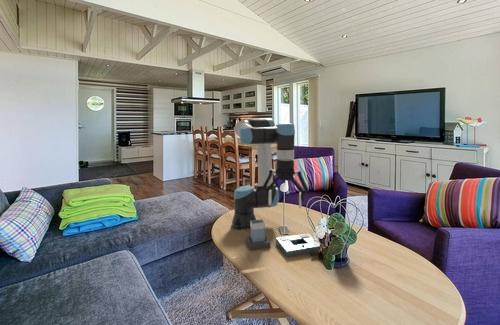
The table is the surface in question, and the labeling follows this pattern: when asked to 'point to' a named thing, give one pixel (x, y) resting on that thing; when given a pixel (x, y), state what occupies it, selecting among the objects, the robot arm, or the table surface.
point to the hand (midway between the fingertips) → (284, 205)
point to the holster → (257, 244)
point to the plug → (257, 230)
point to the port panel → (298, 245)
